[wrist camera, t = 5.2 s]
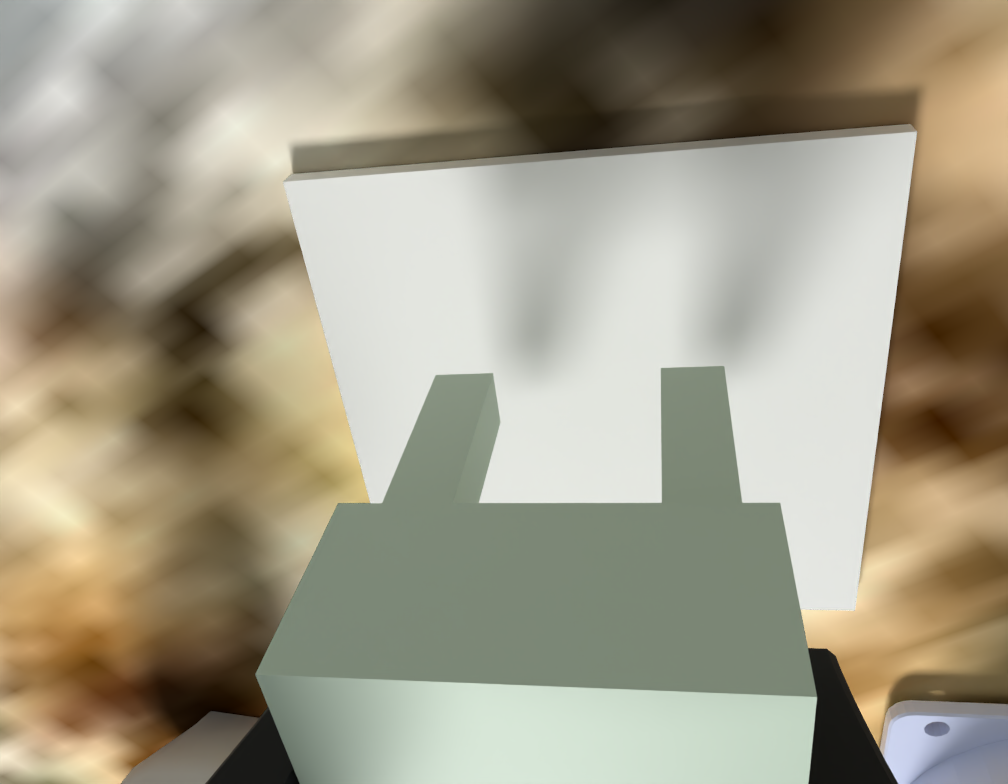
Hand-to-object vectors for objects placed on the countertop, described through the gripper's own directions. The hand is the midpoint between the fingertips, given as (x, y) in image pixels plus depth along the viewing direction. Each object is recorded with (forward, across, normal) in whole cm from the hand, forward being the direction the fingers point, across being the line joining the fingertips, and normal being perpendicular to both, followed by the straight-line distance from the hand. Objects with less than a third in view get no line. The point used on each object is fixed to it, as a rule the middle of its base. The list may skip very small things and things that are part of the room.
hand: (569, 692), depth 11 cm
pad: (+7, 0, 0) cm, 7 cm away
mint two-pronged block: (+4, 0, 0) cm, 4 cm away
